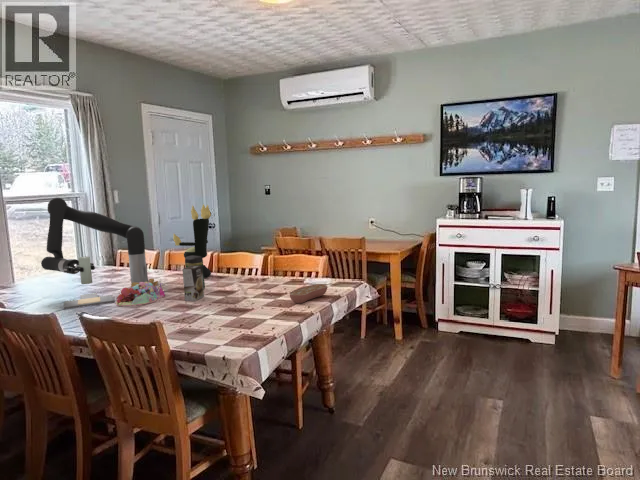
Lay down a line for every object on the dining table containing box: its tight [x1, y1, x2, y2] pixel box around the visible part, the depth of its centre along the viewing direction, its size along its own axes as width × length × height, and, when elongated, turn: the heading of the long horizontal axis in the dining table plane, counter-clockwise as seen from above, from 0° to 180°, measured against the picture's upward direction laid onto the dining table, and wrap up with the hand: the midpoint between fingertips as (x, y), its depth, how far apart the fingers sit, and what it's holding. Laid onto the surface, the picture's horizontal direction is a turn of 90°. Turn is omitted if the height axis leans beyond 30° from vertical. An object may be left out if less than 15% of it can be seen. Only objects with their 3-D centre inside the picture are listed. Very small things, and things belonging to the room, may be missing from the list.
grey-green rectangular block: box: [78, 255, 93, 285], centre depth 223 cm, size 5×5×13 cm
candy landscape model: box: [115, 277, 166, 307], centre depth 229 cm, size 25×24×9 cm
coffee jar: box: [184, 255, 206, 289], centre depth 244 cm, size 10×8×19 cm
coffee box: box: [182, 266, 205, 302], centre depth 224 cm, size 9×6×16 cm
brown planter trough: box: [289, 283, 328, 304], centre depth 215 cm, size 23×10×5 cm, turn 141°
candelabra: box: [172, 203, 212, 279], centre depth 274 cm, size 19×22×45 cm
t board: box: [62, 292, 115, 310], centre depth 230 cm, size 22×23×1 cm
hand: (88, 268), depth 222 cm, fingers closed on grey-green rectangular block, 5 cm apart
